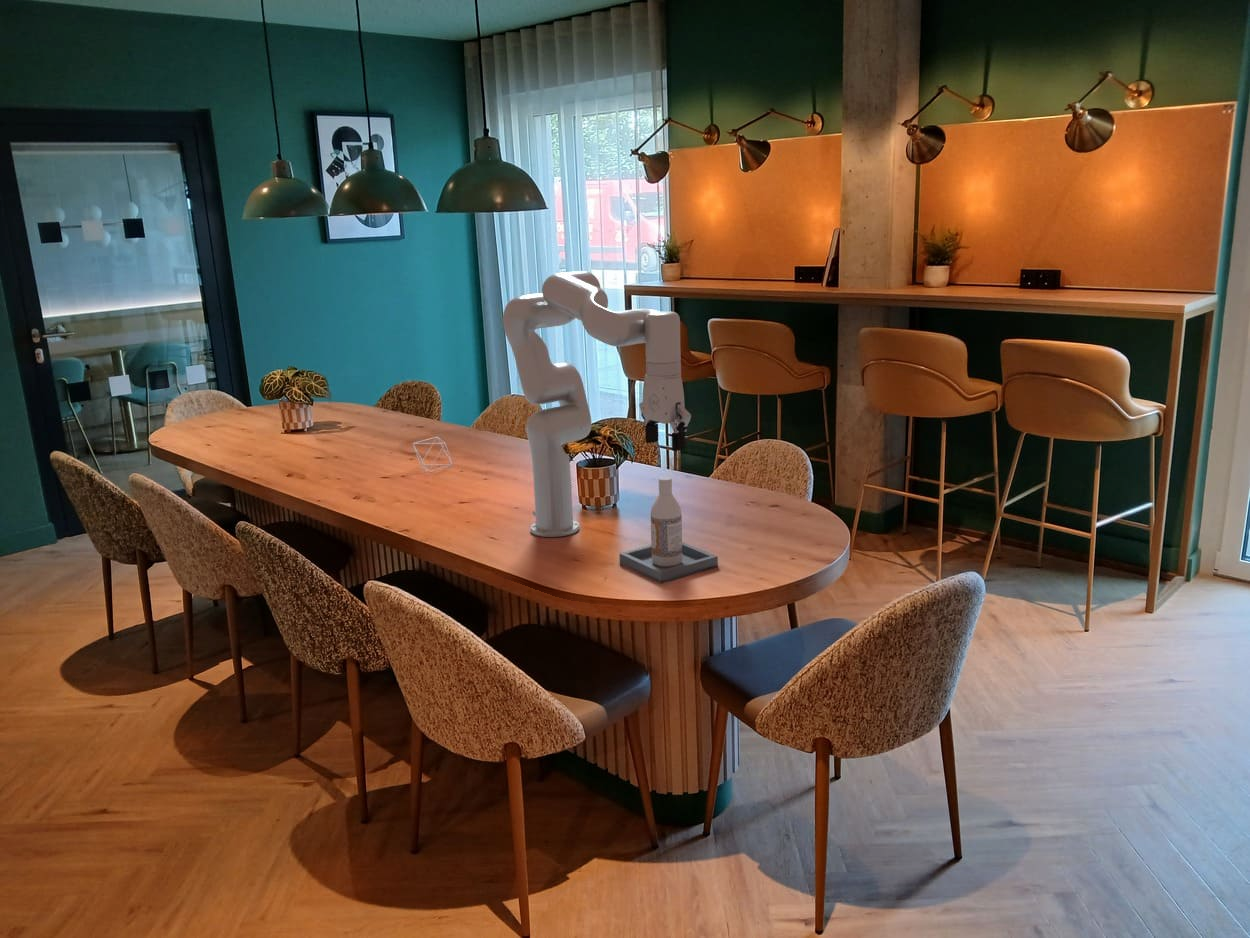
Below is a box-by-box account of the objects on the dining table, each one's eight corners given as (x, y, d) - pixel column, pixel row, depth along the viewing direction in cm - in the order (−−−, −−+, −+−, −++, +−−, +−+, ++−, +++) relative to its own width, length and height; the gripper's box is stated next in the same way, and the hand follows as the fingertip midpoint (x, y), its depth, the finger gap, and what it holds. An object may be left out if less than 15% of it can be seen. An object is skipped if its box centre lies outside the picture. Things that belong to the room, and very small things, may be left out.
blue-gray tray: (619, 563, 220) (619, 553, 220) (674, 548, 229) (674, 538, 229) (661, 583, 208) (661, 572, 207) (717, 566, 216) (717, 556, 216)
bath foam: (649, 558, 221) (646, 475, 216) (678, 555, 222) (676, 473, 217) (655, 569, 215) (653, 483, 209) (685, 566, 216) (683, 481, 210)
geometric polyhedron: (408, 469, 312) (405, 442, 310) (433, 461, 321) (430, 435, 318) (435, 474, 305) (432, 446, 303) (459, 466, 314) (457, 439, 311)
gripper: (626, 366, 212) (628, 441, 216) (674, 376, 198) (675, 456, 202) (653, 363, 216) (655, 436, 220) (702, 371, 202) (703, 450, 206)
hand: (665, 445), depth 211 cm, fingers open, 9 cm apart
